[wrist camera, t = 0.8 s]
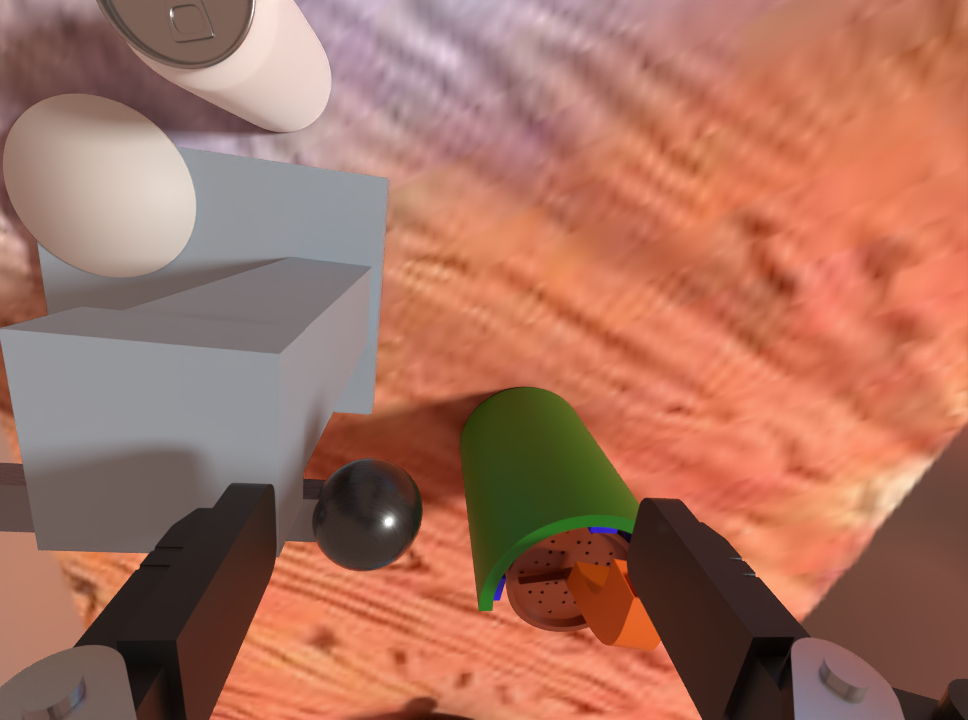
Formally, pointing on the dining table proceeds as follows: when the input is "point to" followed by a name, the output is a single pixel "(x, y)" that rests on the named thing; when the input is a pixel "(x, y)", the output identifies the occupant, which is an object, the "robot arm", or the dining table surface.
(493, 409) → the motor
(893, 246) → the dining table surface
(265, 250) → the press
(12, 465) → the lever
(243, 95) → the can
